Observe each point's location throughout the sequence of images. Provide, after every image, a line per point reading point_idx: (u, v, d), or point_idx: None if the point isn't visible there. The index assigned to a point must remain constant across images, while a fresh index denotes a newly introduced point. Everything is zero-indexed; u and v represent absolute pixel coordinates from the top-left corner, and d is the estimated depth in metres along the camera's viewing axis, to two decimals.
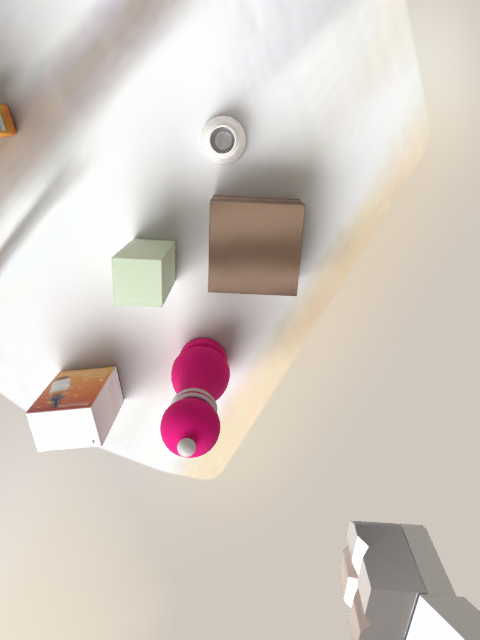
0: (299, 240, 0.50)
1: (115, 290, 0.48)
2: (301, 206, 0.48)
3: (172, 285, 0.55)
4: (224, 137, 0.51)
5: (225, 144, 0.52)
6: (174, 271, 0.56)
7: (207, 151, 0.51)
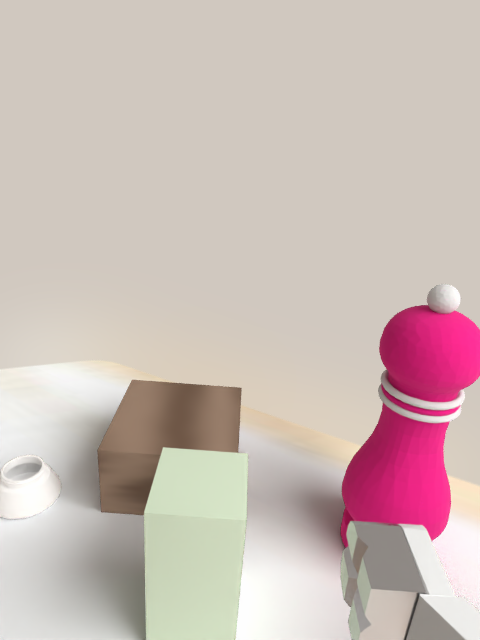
0: (172, 384, 0.42)
1: (214, 515, 0.22)
2: (132, 381, 0.42)
3: None
4: None
5: None
6: None
7: (30, 497, 0.34)
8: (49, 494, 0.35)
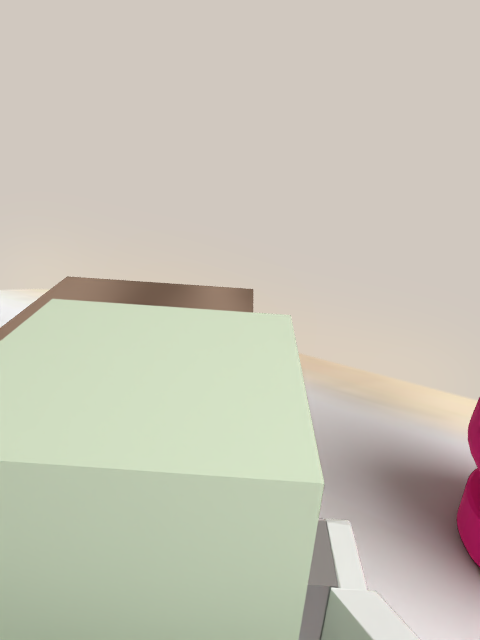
0: (134, 282, 0.24)
1: (182, 462, 0.05)
2: (66, 278, 0.24)
3: None
4: None
5: None
6: None
7: None
8: None
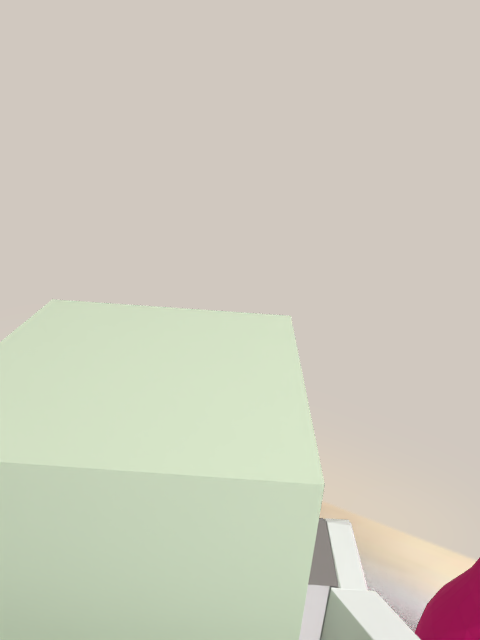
0: None
1: (183, 463, 0.05)
2: None
3: None
4: None
5: None
6: None
7: None
8: None
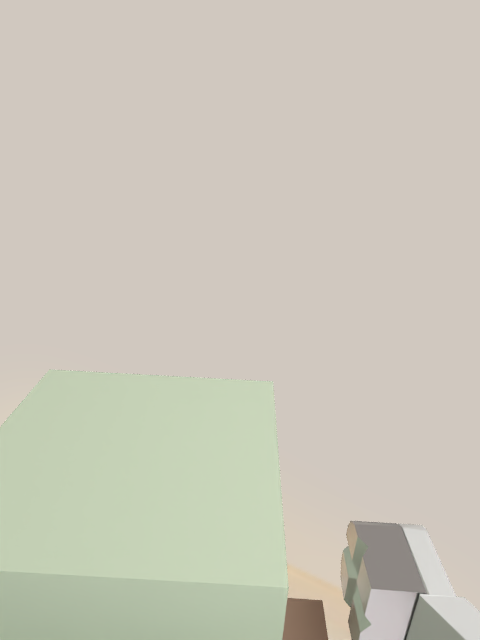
0: None
1: (163, 567, 0.06)
2: None
3: None
4: None
5: None
6: None
7: None
8: None
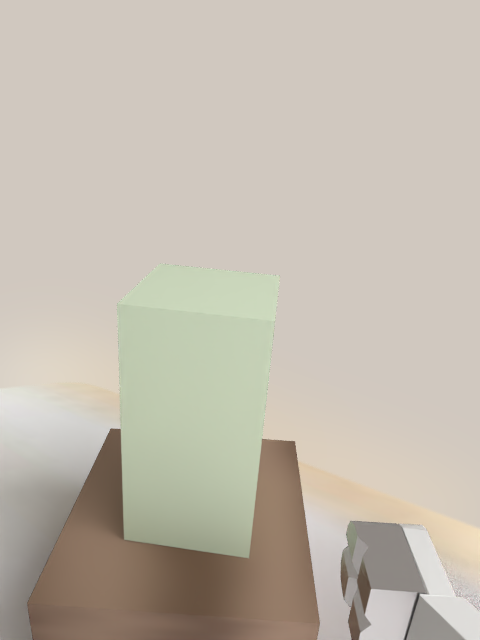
0: None
1: (225, 313, 0.14)
2: (110, 432, 0.25)
3: None
4: None
5: None
6: None
7: None
8: None
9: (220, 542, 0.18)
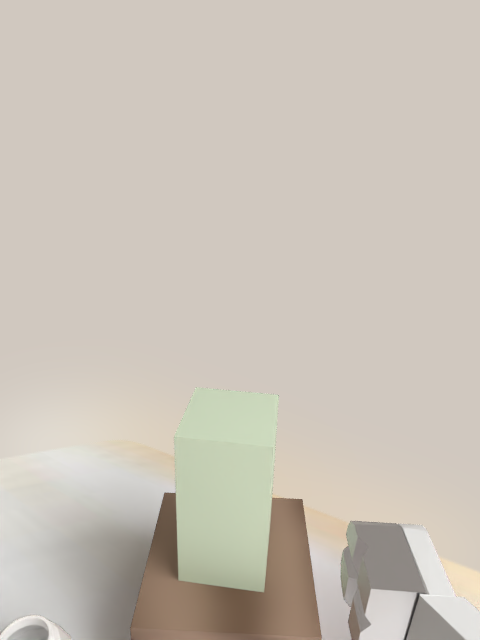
0: None
1: (242, 441, 0.23)
2: (165, 496, 0.33)
3: None
4: None
5: None
6: None
7: None
8: None
9: (244, 582, 0.26)
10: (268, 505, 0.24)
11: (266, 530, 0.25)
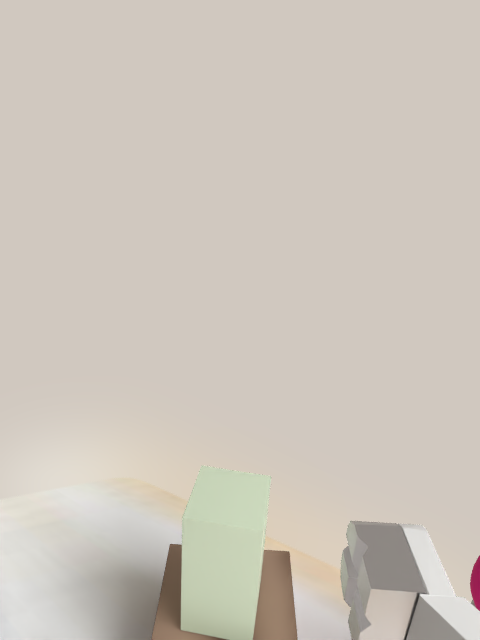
0: None
1: (237, 524, 0.28)
2: (170, 547, 0.38)
3: None
4: None
5: None
6: None
7: None
8: None
9: (235, 634, 0.31)
10: (257, 575, 0.29)
11: (255, 595, 0.30)
